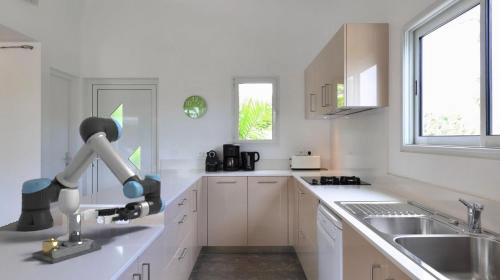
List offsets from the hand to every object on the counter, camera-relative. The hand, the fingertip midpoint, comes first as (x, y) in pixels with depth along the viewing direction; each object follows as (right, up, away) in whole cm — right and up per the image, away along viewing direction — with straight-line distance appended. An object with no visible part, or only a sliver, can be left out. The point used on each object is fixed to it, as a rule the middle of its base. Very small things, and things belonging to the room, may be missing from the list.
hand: (93, 218), depth 127 cm
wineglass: (-15, -11, +9) cm, 21 cm away
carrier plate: (-4, -10, -10) cm, 15 cm away
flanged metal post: (-4, -9, -7) cm, 12 cm away
